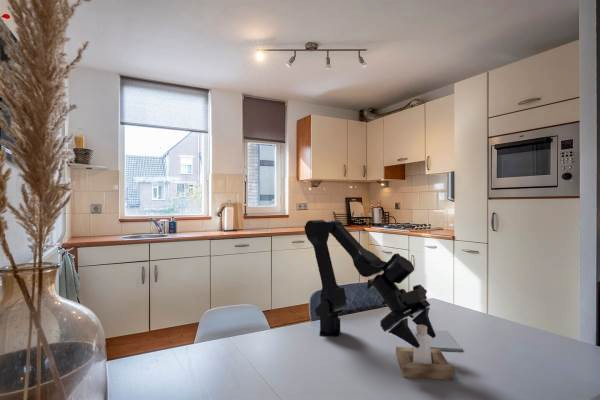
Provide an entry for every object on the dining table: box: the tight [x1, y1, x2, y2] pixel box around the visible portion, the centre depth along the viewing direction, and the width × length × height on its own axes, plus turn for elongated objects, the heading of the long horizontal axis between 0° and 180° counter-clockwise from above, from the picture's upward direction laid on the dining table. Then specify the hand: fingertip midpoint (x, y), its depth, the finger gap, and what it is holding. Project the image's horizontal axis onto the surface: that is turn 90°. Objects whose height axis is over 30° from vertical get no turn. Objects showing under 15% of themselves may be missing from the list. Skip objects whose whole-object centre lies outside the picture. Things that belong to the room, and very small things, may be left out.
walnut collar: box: [395, 346, 454, 381], centre depth 88 cm, size 12×12×2 cm
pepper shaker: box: [412, 324, 433, 364], centre depth 88 cm, size 5×5×11 cm
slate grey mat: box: [410, 328, 463, 352], centre depth 105 cm, size 14×14×1 cm
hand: (426, 342), depth 87 cm, fingers open, 9 cm apart
